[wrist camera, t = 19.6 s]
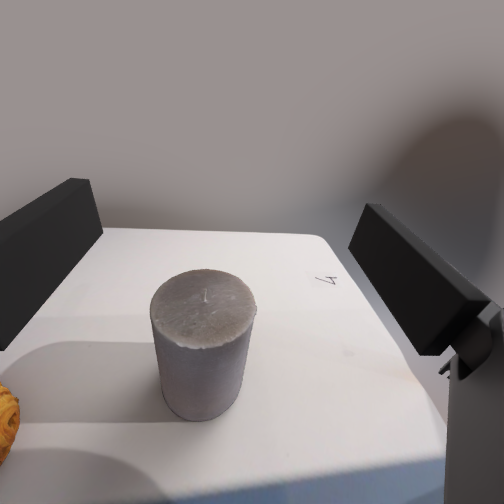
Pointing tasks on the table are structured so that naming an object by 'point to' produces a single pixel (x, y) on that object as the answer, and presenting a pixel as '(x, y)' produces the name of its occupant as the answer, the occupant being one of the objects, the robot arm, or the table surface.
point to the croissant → (8, 421)
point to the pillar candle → (202, 340)
